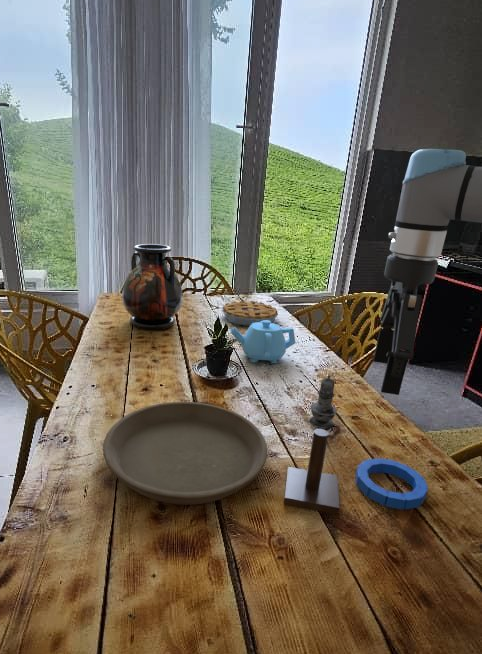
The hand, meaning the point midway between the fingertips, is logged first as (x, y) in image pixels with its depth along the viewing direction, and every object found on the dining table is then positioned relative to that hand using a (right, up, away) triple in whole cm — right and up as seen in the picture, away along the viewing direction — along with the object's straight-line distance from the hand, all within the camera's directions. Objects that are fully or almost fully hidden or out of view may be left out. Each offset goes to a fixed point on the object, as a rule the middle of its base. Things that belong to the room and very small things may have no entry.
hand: (384, 376), depth 79 cm
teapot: (-14, +3, +58) cm, 60 cm away
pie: (-14, +18, +95) cm, 98 cm away
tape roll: (+2, -20, +2) cm, 21 cm away
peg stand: (-13, -21, 0) cm, 25 cm away
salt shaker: (-5, -12, +23) cm, 26 cm away
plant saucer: (-36, -17, +7) cm, 40 cm away
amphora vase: (-51, +15, +84) cm, 99 cm away
